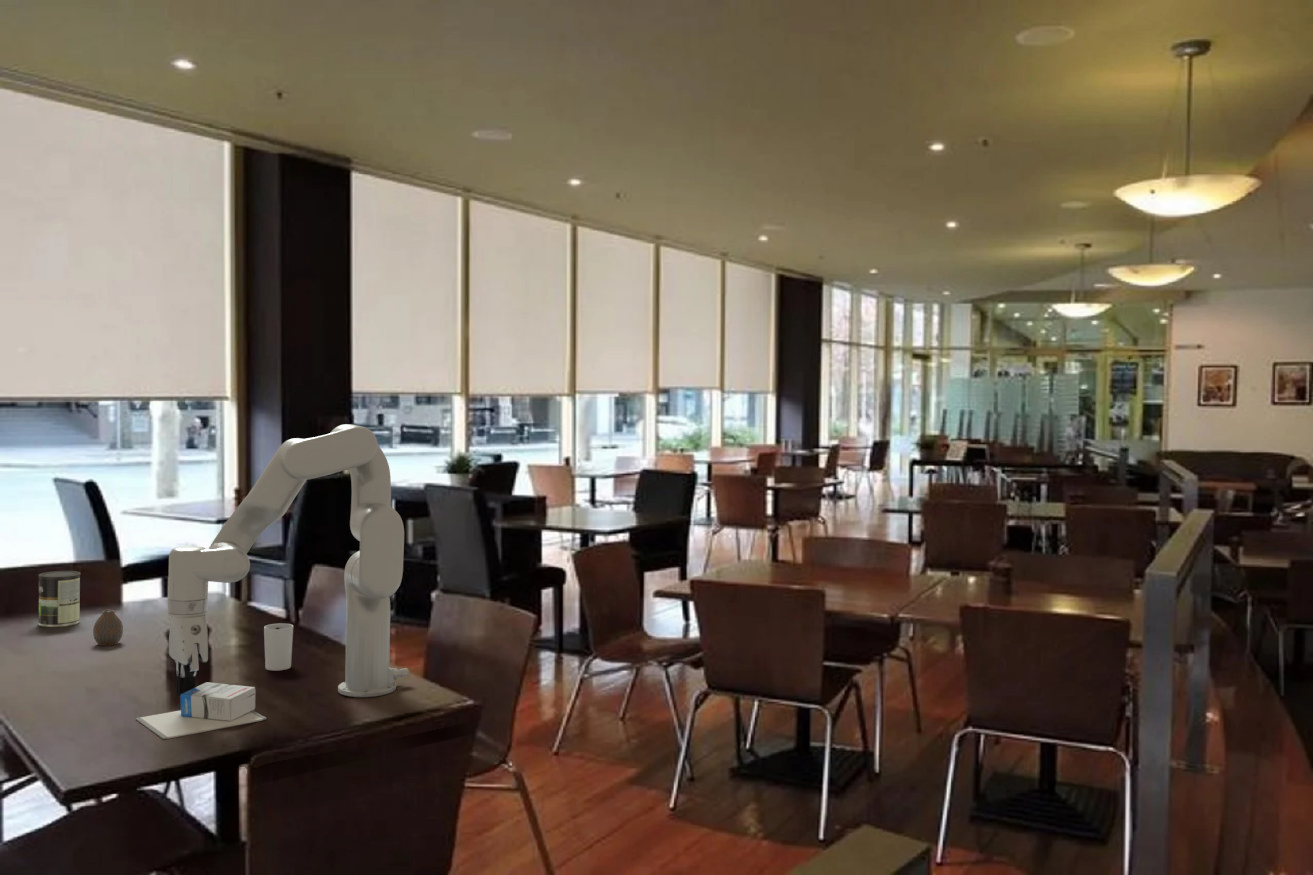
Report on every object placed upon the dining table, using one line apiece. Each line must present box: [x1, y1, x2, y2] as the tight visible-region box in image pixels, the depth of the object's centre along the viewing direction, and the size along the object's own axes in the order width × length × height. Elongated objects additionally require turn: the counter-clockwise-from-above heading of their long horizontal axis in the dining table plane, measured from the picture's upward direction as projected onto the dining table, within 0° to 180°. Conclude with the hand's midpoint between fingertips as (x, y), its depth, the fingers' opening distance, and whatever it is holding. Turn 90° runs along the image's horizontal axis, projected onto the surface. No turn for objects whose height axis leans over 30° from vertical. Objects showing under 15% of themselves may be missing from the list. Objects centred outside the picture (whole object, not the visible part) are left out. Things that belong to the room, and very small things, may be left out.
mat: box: [135, 709, 267, 740], centre depth 213 cm, size 20×16×1 cm
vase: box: [92, 609, 124, 647], centre depth 274 cm, size 7×7×9 cm
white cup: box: [263, 623, 294, 672], centre depth 255 cm, size 7×7×10 cm
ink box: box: [179, 682, 256, 721], centre depth 216 cm, size 9×5×12 cm
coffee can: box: [38, 570, 81, 628], centre depth 297 cm, size 10×10×14 cm
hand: (185, 694), depth 218 cm, fingers closed
